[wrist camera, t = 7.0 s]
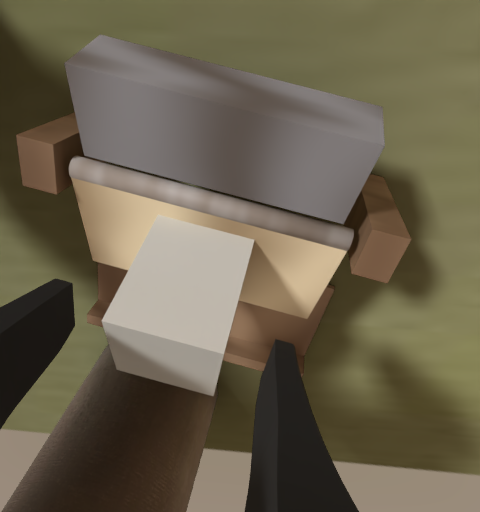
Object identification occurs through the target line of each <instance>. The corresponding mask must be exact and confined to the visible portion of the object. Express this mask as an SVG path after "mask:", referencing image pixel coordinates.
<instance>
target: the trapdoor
mask: <svg viewBox="0 0 480 512" xmlns="http://www.w3.org/2000/svg"><path fill="white" fill-rule="evenodd" d="M64 64H65V69H66V74H67V78H68V83H69V87H70V92H71V97H72V101H73V106H74V111H75V115H76V120H77V125H78V129H79V134H80V138H81V143H82V148H83V152H84V156H88V157H91V158H95V159H99V160H103V161H107V162H110V163H114V164H118V165H122V166H125V167H129V168H133V169H137V170H140V171H144V172H148V173H152V174H156V175H159V176H163V177H167V178H171V179H174V180H178V181H182V182H186V183H190V184H193V185H197V186H201V187H205V188H208V189H212V190H216V191H220V192H223V193H227V194H231V195H235V196H239V197H242V198H246V199H250V200H254V201H257V202H261V203H265V204H269V205H272V206H276V207H280V208H284V209H288V210H291V211H295V212H299V213H303V214H306V215H310V216H314V217H318V218H321V219H325V220H329V221H333V222H337V223H340V224H344V222H345V220H346V218H347V216H348V215H349V213H350V211H351V209H352V207H353V205H354V203H355V201H356V199H357V197H358V196H359V194H360V192H361V190H362V188H363V186H364V184H365V182H366V180H367V179H368V177H369V175H370V173H371V171H372V169H373V167H374V165H375V163H376V161H377V160H378V158H379V156H380V154H381V152H382V150H383V148H384V146H385V144H384V126H383V108H382V107H381V106H377V105H373V104H369V103H365V102H362V101H358V100H354V99H350V98H346V97H342V96H338V95H334V94H330V93H326V92H322V91H319V90H315V89H311V88H307V87H303V86H299V85H295V84H291V83H287V82H283V81H280V80H276V79H272V78H268V77H264V76H260V75H256V74H252V73H248V72H244V71H240V70H237V69H233V68H229V67H225V66H221V65H217V64H213V63H209V62H205V61H201V60H198V59H194V58H190V57H186V56H182V55H178V54H174V53H170V52H166V51H162V50H158V49H155V48H151V47H147V46H143V45H139V44H135V43H131V42H127V41H123V40H119V39H116V38H112V37H108V36H104V35H99V36H98V37H97V38H95V39H94V40H93V41H92V42H90V43H89V44H88V45H86V46H85V47H84V48H83V49H81V50H80V51H79V52H78V53H76V54H75V55H74V56H73V57H71V58H70V59H69V60H68V61H66V62H65V63H64ZM69 175H70V177H71V179H72V183H73V187H74V191H75V194H76V198H77V202H78V206H79V210H80V213H81V217H82V221H83V225H84V229H85V232H86V236H87V240H88V244H89V248H90V251H91V255H92V259H93V261H96V262H100V263H103V264H107V265H111V266H114V267H118V268H122V269H125V270H129V268H130V266H131V265H132V263H133V261H134V259H135V257H136V255H137V253H138V251H139V250H140V248H141V246H142V244H143V242H144V240H145V238H146V236H147V235H148V233H149V231H150V229H151V227H152V225H153V223H154V221H155V220H156V218H157V216H158V215H161V216H165V217H169V218H173V219H177V220H180V221H184V222H188V223H192V224H196V225H200V226H203V227H207V228H211V229H215V230H219V231H223V232H226V233H230V234H234V235H238V236H242V237H246V238H250V239H253V240H254V244H253V248H252V252H251V256H250V260H249V264H248V268H247V272H246V276H245V279H244V283H243V287H242V291H241V295H240V299H239V301H243V302H246V303H250V304H254V305H257V306H261V307H265V308H268V309H272V310H276V311H279V312H283V313H287V314H290V315H294V316H298V317H301V318H305V319H308V317H309V315H310V314H311V312H312V310H313V308H314V307H315V305H316V303H317V302H318V300H319V298H320V296H321V295H322V293H323V291H324V290H325V288H326V286H327V285H328V283H329V281H330V279H331V278H332V276H333V274H334V273H335V271H336V269H337V268H338V266H339V264H340V262H341V261H342V259H343V257H344V256H345V254H346V252H347V251H348V250H349V248H350V246H351V243H352V240H353V236H354V229H352V228H348V227H344V226H340V225H337V224H333V223H329V222H325V221H322V220H318V219H314V218H310V217H306V216H303V215H299V214H295V213H291V212H288V211H284V210H280V209H276V208H273V207H269V206H265V205H261V204H257V203H254V202H250V201H246V200H242V199H239V198H235V197H231V196H227V195H224V194H220V193H216V192H212V191H208V190H205V189H201V188H197V187H193V186H190V185H186V184H182V183H178V182H175V181H171V180H167V179H163V178H159V177H156V176H152V175H148V174H144V173H141V172H137V171H133V170H129V169H126V168H122V167H118V166H114V165H110V164H107V163H103V162H99V161H95V160H92V159H88V158H84V157H80V156H74V157H73V158H72V160H71V162H70V165H69Z"/></svg>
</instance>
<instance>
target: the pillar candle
mask: <svg viewBox="0 0 480 512" xmlns="http://www.w3.org/2000/svg"><path fill="white" fill-rule="evenodd" d="M217 397H218V391H217V385H216V389H215V393H214V396H210V395H207V394H203V393H199V392H196V391H192V390H189V389H185V388H181V387H178V386H174V385H170V384H167V383H163V382H160V381H156V380H152V379H149V378H145V377H141V376H138V375H134V374H131V373H127V372H123V371H120V370H117V369H116V366H115V362H114V359H113V356H112V353H111V350H110V347H109V345H108V346H107V347H106V348H105V349H104V351H103V352H102V354H101V355H100V357H99V359H98V360H97V362H96V364H95V365H94V367H93V368H92V370H91V372H90V373H89V375H88V376H87V377H86V379H85V380H84V382H83V384H82V385H81V387H80V388H79V390H78V392H77V393H76V395H75V396H74V398H73V400H72V401H71V403H70V404H69V406H68V407H67V409H66V410H65V412H64V414H63V415H62V417H61V418H60V420H59V422H58V423H57V425H56V427H55V428H54V430H53V431H52V433H51V434H50V436H49V437H48V439H47V441H46V442H45V444H44V445H43V447H42V449H41V450H40V452H39V453H38V455H37V457H36V458H35V460H34V462H33V463H32V465H31V466H30V468H29V469H28V471H27V473H26V474H25V476H24V477H23V479H22V480H21V482H20V484H19V485H18V487H17V488H16V490H15V491H14V493H13V495H12V496H11V498H10V499H9V501H8V502H7V504H6V505H5V507H4V509H3V510H2V512H186V510H187V507H188V503H189V499H190V495H191V492H192V489H193V484H194V481H195V477H196V474H197V470H198V467H199V463H200V459H201V456H202V452H203V448H204V445H205V441H206V438H207V434H208V430H209V427H210V423H211V420H212V416H213V411H214V409H215V404H216V400H217Z"/></svg>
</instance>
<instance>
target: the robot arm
mask: <svg viewBox="0 0 480 512" xmlns="http://www.w3.org/2000/svg"><path fill="white" fill-rule="evenodd" d="M74 326H75V318H74V302H73V285H72V283H70V282H66V281H63V280H59V279H54V280H52V281H50V282H48V283H46V284H44V285H42V286H40V287H38V288H36V289H35V290H33V291H31V292H29V293H27V294H25V295H23V296H21V297H20V298H18V299H16V300H14V301H12V302H10V303H8V304H6V305H4V306H2V307H0V429H1V428H2V426H3V424H4V423H5V421H6V420H7V418H8V417H9V416H10V414H11V413H12V411H13V410H14V409H15V407H16V406H17V405H18V403H19V402H20V401H21V400H22V398H23V397H24V396H25V395H26V393H27V392H28V391H29V389H30V388H31V387H32V386H33V384H34V383H35V382H36V381H37V379H38V378H39V377H40V376H41V374H42V373H43V372H44V371H45V369H46V368H47V367H48V365H49V364H50V363H51V362H52V360H53V359H54V358H55V356H56V355H57V354H58V352H59V351H60V350H61V348H62V346H63V345H64V343H65V342H66V340H67V338H68V337H69V335H70V333H71V331H72V330H73V328H74ZM245 512H359V511H358V510H357V508H356V506H355V504H354V502H353V501H352V499H351V497H350V495H349V493H348V491H347V489H346V488H345V486H344V484H343V482H342V480H341V478H340V476H339V474H338V472H337V470H336V468H335V466H334V464H333V462H332V459H331V457H330V455H329V453H328V451H327V448H326V446H325V444H324V441H323V439H322V436H321V434H320V432H319V429H318V426H317V424H316V421H315V418H314V416H313V413H312V410H311V407H310V404H309V401H308V397H307V394H306V391H305V388H304V384H303V381H302V377H301V373H300V369H299V365H298V361H297V356H296V350H295V346H294V345H293V344H292V343H288V342H285V341H281V340H278V339H275V341H274V344H273V347H272V349H271V352H270V355H269V357H268V360H267V363H266V365H265V368H264V371H263V373H262V376H261V380H260V386H259V391H258V396H257V402H256V409H255V421H254V434H253V447H252V460H251V473H250V481H249V489H248V495H247V501H246V507H245Z"/></svg>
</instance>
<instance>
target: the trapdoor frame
mask: <svg viewBox="0 0 480 512" xmlns="http://www.w3.org/2000/svg"><path fill="white" fill-rule="evenodd" d="M16 139H17V146H18V154H19V161H20V169H21V176H22V184H23V186H27V187H30V188H34V189H38V190H41V191H45V192H49V193H53V194H56V195H57V194H59V193H60V192H61V191H63V190H64V189H66V188H67V187H69V186H70V185H72V184H73V183H72V179H71V177H70V175H69V165H70V162H71V160H72V158H73V157H74V156H80V157H84V158H88V159H92V160H95V161H99V162H103V163H104V162H106V161H103V160H99V159H95V158H91V157H88V156H84V152H83V148H82V143H81V138H80V134H79V129H78V125H77V120H76V115H75V112H74V113H71V114H69V115H66V116H64V117H61V118H58V119H56V120H53V121H51V122H48V123H45V124H43V125H40V126H38V127H35V128H32V129H30V130H27V131H25V132H22V133H20V134H17V135H16ZM344 227H348V228H352V229H354V236H353V240H352V243H351V246H350V248H349V250H348V254H349V260H350V267H351V274H354V275H358V276H362V277H365V278H369V279H373V280H377V281H380V282H384V283H388V281H389V279H390V278H391V276H392V274H393V272H394V270H395V269H396V267H397V265H398V263H399V261H400V259H401V258H402V256H403V254H404V252H405V250H406V249H407V247H408V245H409V243H410V241H411V238H410V235H409V233H408V231H407V229H406V226H405V224H404V222H403V220H402V217H401V215H400V213H399V211H398V208H397V206H396V204H395V202H394V200H393V197H392V195H391V193H390V191H389V188H388V186H387V184H386V182H385V179H384V177H380V176H377V175H373V174H370V175H369V177H368V179H367V180H366V182H365V184H364V186H363V188H362V190H361V192H360V194H359V196H358V197H357V199H356V201H355V203H354V205H353V207H352V209H351V211H350V213H349V215H348V216H347V218H346V220H345V222H344ZM127 272H128V270H125V269H122V268H118V267H114V266H111V265H107V264H103V263H100V262H98V301H97V302H96V303H95V305H94V306H93V307H92V308H91V310H90V311H89V312H88V314H87V323H90V324H94V325H97V326H101V327H103V324H102V319H103V317H104V315H105V313H106V312H107V310H108V308H109V306H110V304H111V302H112V300H113V298H114V297H115V295H116V293H117V291H118V289H119V287H120V285H121V283H122V282H123V280H124V278H125V276H126V274H127ZM334 290H335V287H334V286H332V285H327V286H326V288H325V290H324V291H323V293H322V295H321V296H320V298H319V300H318V302H317V303H316V305H315V307H314V308H313V310H312V312H311V314H310V315H309V317H308V319H305V318H301V317H298V316H294V315H290V314H287V313H283V312H279V311H276V310H272V309H268V308H265V307H261V306H257V305H254V304H250V303H246V302H243V301H239V303H238V306H237V310H236V314H235V318H234V321H233V325H232V329H231V333H230V336H229V340H228V344H227V348H226V351H225V355H224V359H223V361H227V362H231V363H234V364H238V365H241V366H245V367H249V368H252V369H256V370H260V371H264V368H265V365H266V363H267V360H268V357H269V355H270V352H271V349H272V347H273V344H274V341H275V339H278V340H281V341H285V342H288V343H292V344H293V345H294V346H295V350H296V356H297V361H298V365H299V369H300V373H301V377H303V374H304V356H305V353H306V351H307V349H308V347H309V345H310V342H311V340H312V338H313V336H314V334H315V331H316V329H317V327H318V325H319V323H320V320H321V318H322V316H323V314H324V312H325V309H326V307H327V305H328V303H329V301H330V298H331V296H332V294H333V292H334Z"/></svg>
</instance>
